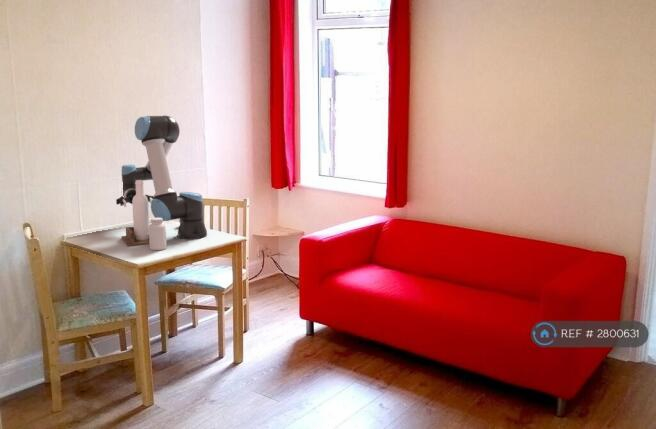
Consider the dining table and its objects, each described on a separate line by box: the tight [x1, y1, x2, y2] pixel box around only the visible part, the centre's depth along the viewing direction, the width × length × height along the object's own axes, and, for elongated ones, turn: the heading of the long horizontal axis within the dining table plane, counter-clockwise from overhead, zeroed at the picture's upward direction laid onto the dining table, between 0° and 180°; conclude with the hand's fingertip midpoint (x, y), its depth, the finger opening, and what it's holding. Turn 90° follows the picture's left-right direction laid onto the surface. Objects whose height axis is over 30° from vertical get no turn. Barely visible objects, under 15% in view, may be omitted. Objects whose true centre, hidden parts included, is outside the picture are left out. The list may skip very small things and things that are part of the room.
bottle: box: [131, 180, 151, 240], centre depth 308 cm, size 8×8×30 cm
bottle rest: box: [121, 226, 149, 247], centre depth 310 cm, size 18×18×6 cm
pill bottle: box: [148, 217, 167, 251], centre depth 295 cm, size 8×8×15 cm
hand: (139, 203), depth 310 cm, fingers open, 13 cm apart
